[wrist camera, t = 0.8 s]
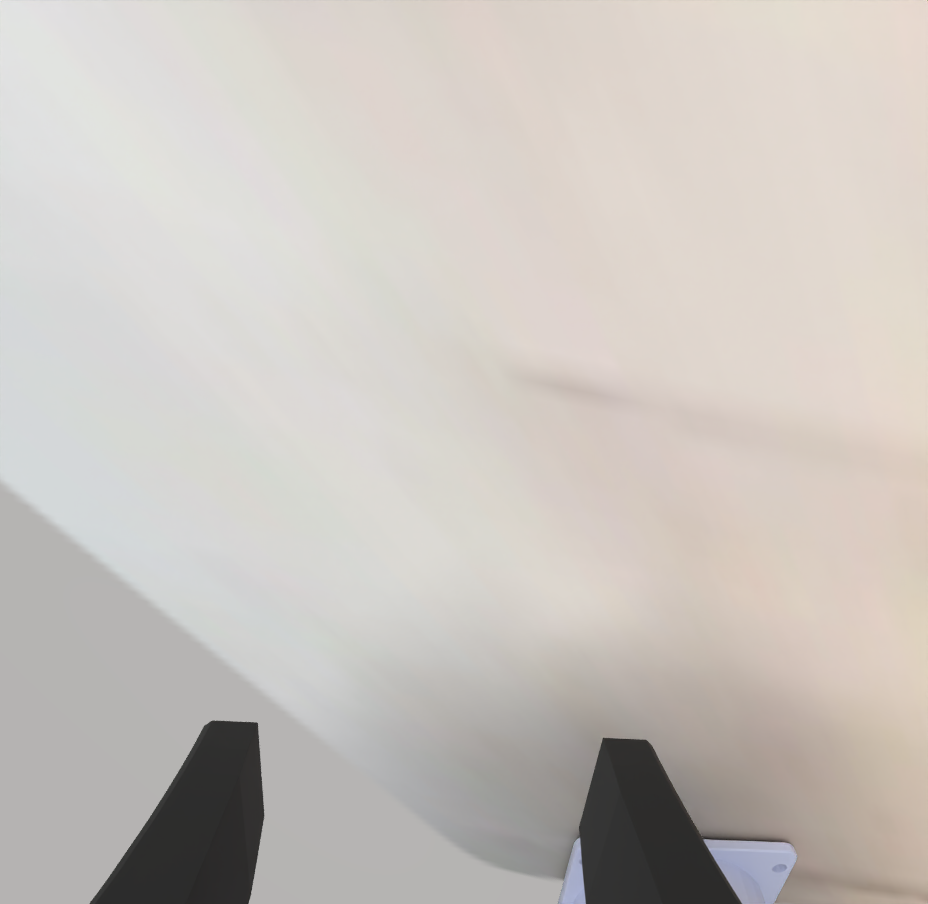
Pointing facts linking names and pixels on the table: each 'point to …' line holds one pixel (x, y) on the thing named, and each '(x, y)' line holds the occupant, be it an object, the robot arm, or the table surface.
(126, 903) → the robot arm
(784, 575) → the table surface
